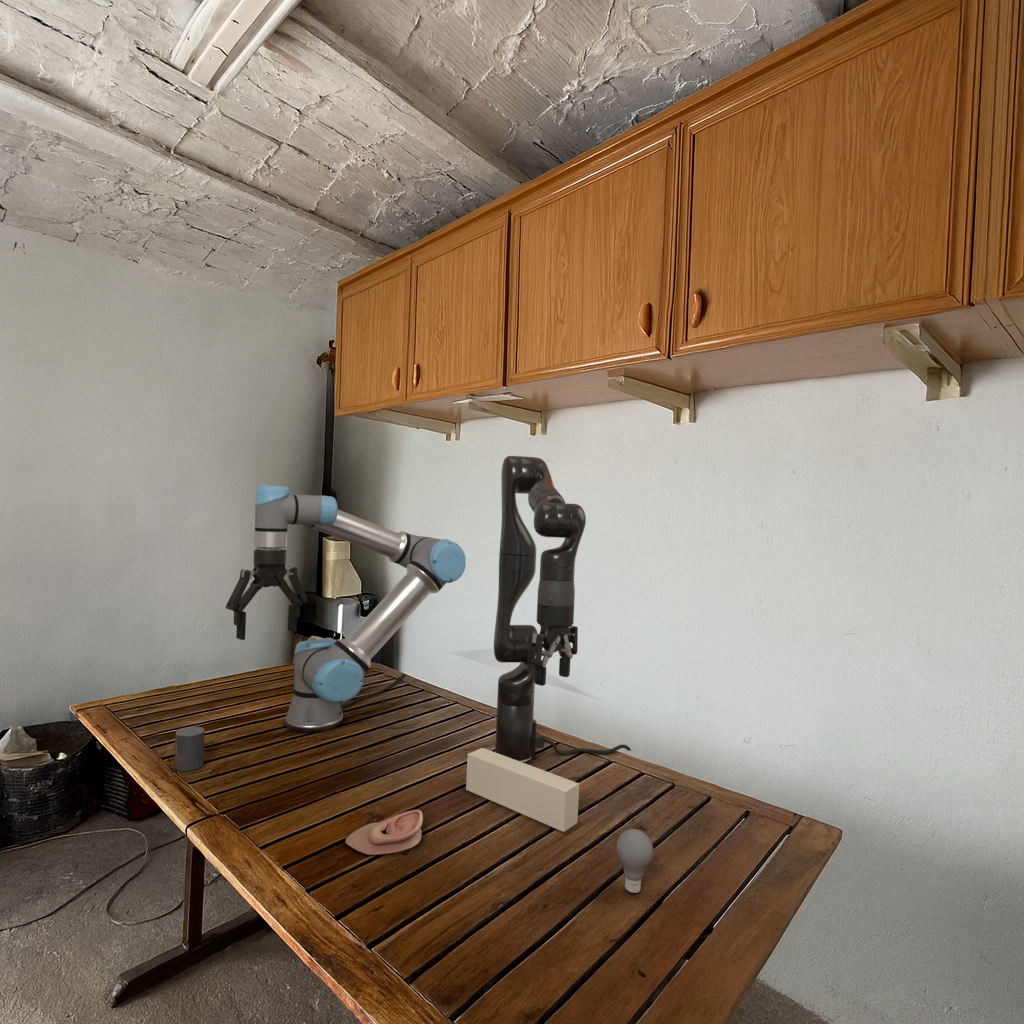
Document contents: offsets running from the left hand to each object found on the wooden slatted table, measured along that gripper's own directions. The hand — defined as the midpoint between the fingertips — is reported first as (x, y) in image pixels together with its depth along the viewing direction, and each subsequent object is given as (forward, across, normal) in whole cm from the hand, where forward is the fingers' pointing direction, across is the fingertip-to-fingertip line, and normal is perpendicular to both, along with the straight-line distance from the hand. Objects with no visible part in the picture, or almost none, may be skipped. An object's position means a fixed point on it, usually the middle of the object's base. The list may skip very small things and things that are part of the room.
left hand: (267, 635), depth 155 cm
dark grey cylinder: (+29, +16, -4) cm, 33 cm away
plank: (+29, -22, +63) cm, 73 cm away
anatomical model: (+29, +6, +53) cm, 61 cm away
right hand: (+1, -22, +70) cm, 73 cm away
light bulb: (+29, -12, +95) cm, 100 cm away
